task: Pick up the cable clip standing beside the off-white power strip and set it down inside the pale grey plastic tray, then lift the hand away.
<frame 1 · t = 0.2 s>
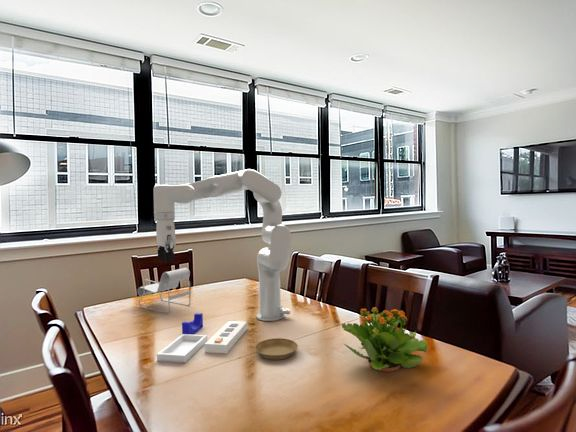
hand: (165, 260, 139), 30 cm above the table, tool pointing down, fingers open, 9 cm apart
plant saucer: (276, 354, 124), on the table
chair: (164, 307, 183), on the table
cable tray: (183, 350, 127), on the table
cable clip: (191, 332, 146), on the table
potted flower: (381, 366, 113), on the table
power strip: (227, 339, 137), on the table
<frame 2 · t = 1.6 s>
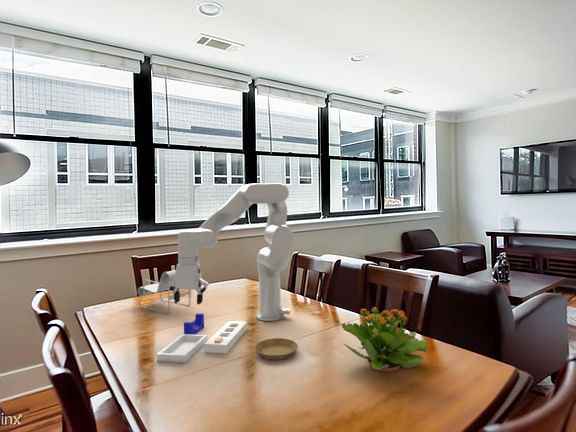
hand: (188, 302, 145), 12 cm above the table, tool pointing down, fingers open, 9 cm apart
nothing on the table moved.
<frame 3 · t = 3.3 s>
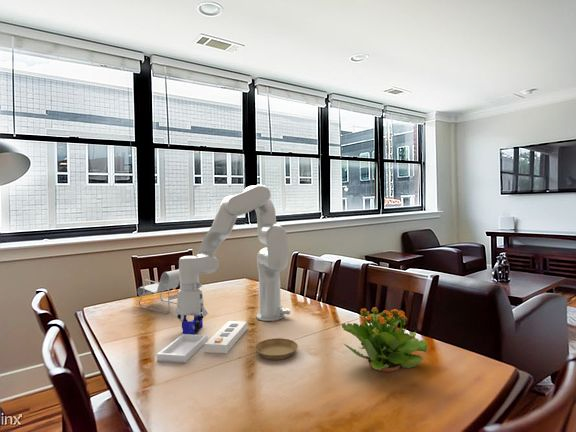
hand: (191, 330, 146), 1 cm above the table, tool pointing down, fingers closed on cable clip, 4 cm apart
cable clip: (191, 332, 146), on the table, touching gripper
everything else where it was.
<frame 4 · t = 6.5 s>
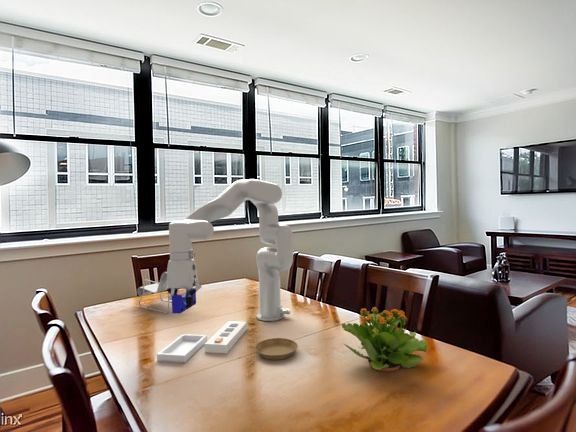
hand: (182, 306, 128), 16 cm above the table, tool pointing down, fingers closed on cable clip, 4 cm apart
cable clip: (182, 308, 128), point 15 cm above the table, touching gripper
everything else where it was.
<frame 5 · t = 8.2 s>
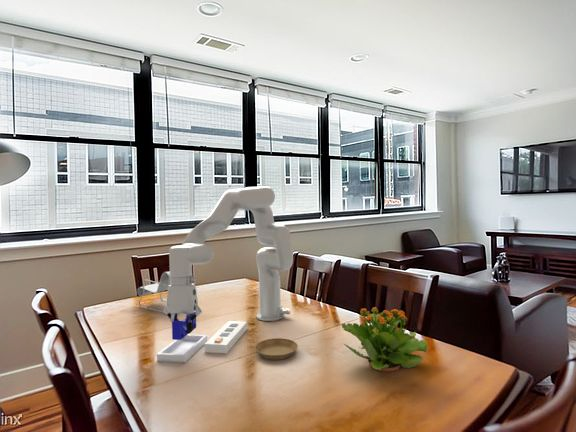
hand: (182, 331, 127), 7 cm above the table, tool pointing down, fingers closed on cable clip, 4 cm apart
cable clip: (182, 333, 127), point 6 cm above the table, touching gripper
everything else where it was.
when the fingers open (4 cm above the table, at t = 9.6 s): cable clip drops 2 cm, resting on cable tray.
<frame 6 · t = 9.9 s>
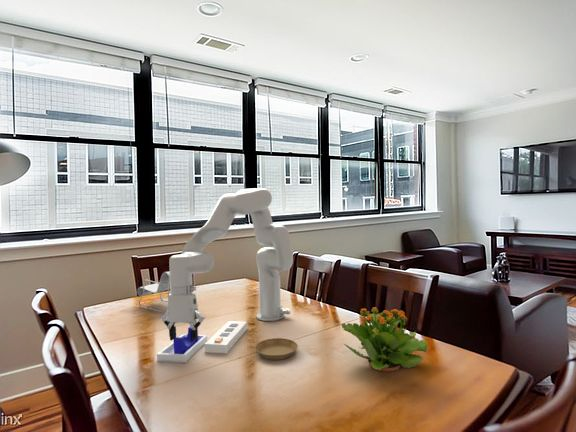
hand: (183, 339, 127), 4 cm above the table, tool pointing down, fingers open, 7 cm apart
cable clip: (184, 349, 127), resting on cable tray
everything else where it was.
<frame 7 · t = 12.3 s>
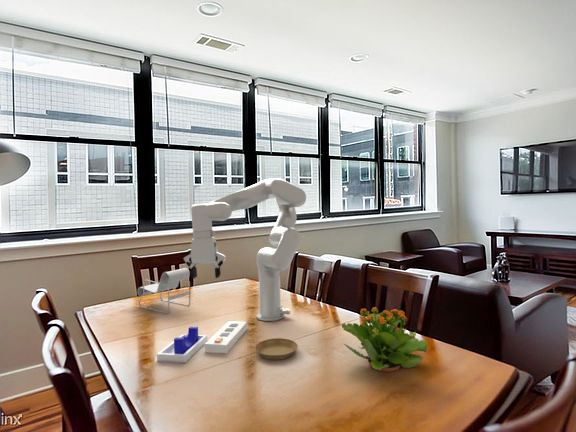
hand: (206, 277, 143), 22 cm above the table, tool pointing down, fingers open, 9 cm apart
nothing on the table moved.
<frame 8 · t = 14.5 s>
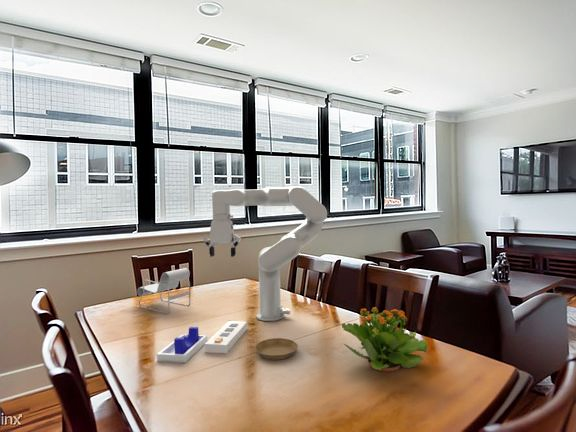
hand: (222, 256, 160), 28 cm above the table, tool pointing down, fingers open, 9 cm apart
nothing on the table moved.
at the end: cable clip inside the target area on the cable tray (0.6 cm from its centre), point 0.4 cm above the cable tray's base; the gripper is holding nothing; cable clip tilted 0° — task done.
